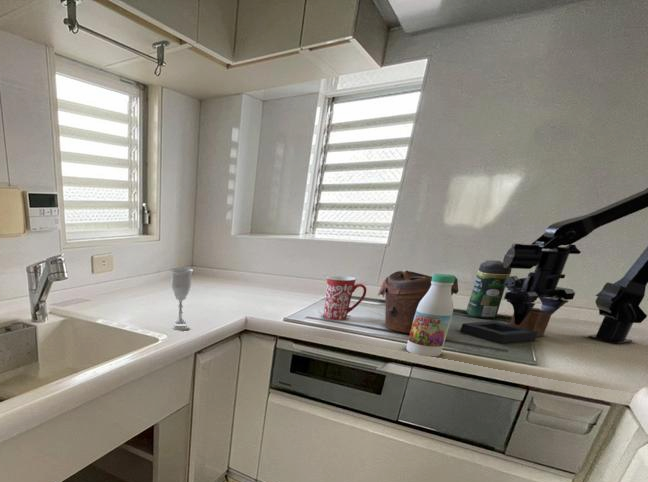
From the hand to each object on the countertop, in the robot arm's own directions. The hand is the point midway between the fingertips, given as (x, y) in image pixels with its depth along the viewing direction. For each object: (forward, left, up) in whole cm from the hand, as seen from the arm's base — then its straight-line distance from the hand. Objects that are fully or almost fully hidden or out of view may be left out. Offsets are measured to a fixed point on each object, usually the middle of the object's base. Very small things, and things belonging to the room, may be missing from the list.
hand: (528, 323), depth 119 cm
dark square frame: (+11, -1, -3) cm, 11 cm away
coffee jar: (-8, -20, -3) cm, 22 cm away
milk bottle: (+44, +6, -3) cm, 45 cm away
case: (+30, -13, -3) cm, 33 cm away
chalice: (+98, -33, -3) cm, 104 cm away
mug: (+41, -30, -3) cm, 51 cm away
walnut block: (0, 0, -3) cm, 3 cm away
